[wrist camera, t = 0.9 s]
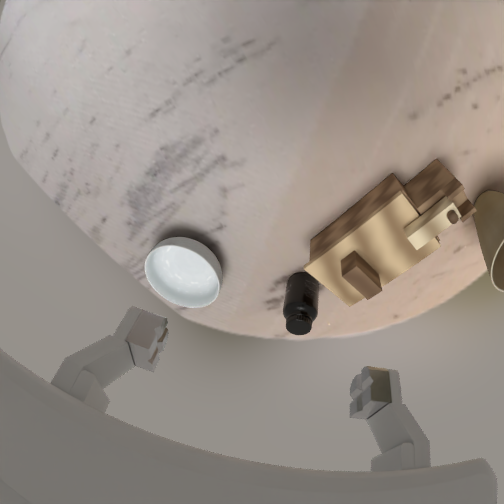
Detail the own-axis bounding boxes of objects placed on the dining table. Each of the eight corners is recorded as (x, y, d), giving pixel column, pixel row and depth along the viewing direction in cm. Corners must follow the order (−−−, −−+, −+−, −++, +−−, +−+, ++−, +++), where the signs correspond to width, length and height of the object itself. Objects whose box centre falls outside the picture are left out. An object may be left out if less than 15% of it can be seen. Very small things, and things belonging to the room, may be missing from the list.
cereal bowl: (222, 295, 68) (213, 317, 63) (157, 274, 69) (145, 294, 63) (234, 239, 58) (225, 261, 52) (158, 216, 58) (142, 235, 53)
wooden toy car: (447, 194, 35) (456, 206, 32) (455, 208, 35) (464, 220, 33) (403, 229, 40) (409, 242, 37) (413, 241, 41) (418, 255, 38)
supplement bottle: (282, 275, 61) (275, 318, 52) (313, 268, 58) (311, 312, 49) (293, 297, 64) (287, 340, 55) (322, 291, 62) (321, 335, 52)
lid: (398, 187, 39) (409, 206, 34) (437, 238, 42) (448, 261, 37) (304, 261, 50) (302, 285, 46) (349, 298, 54) (350, 323, 49)
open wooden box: (425, 144, 39) (451, 167, 30) (459, 194, 42) (483, 225, 33) (310, 240, 54) (308, 277, 46) (350, 275, 58) (353, 314, 49)
